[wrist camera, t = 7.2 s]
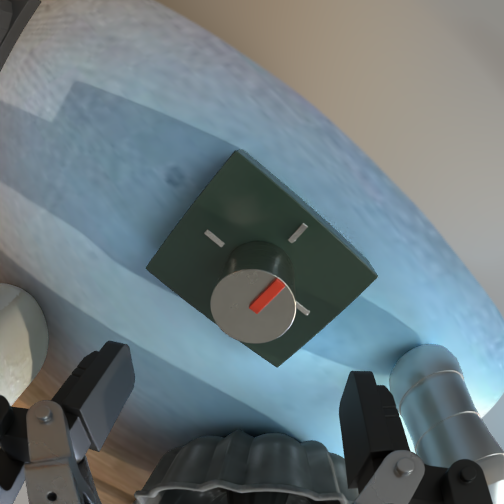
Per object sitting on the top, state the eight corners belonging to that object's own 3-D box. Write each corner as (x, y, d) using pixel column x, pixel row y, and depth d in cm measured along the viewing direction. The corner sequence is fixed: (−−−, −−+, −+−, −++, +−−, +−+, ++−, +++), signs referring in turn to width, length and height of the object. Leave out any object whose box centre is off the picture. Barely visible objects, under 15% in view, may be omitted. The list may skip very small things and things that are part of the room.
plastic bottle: (454, 366, 25) (533, 534, 7) (394, 399, 27) (441, 581, 8) (439, 321, 24) (548, 516, 5) (372, 359, 26) (427, 578, 7)
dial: (263, 316, 22) (257, 360, 17) (211, 275, 21) (192, 313, 17) (308, 271, 20) (314, 309, 16) (255, 226, 20) (246, 253, 15)
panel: (159, 253, 24) (143, 269, 21) (241, 148, 21) (235, 150, 18) (278, 345, 26) (277, 369, 23) (368, 260, 23) (379, 277, 20)
